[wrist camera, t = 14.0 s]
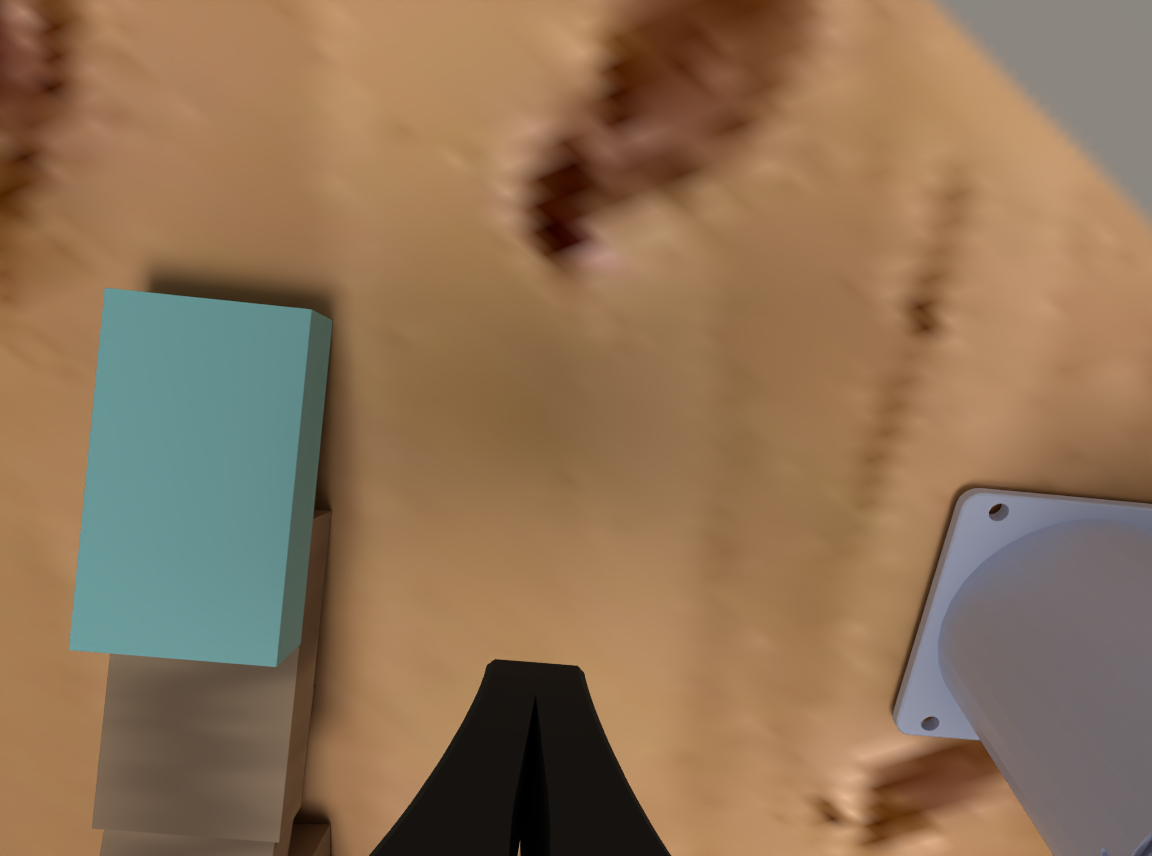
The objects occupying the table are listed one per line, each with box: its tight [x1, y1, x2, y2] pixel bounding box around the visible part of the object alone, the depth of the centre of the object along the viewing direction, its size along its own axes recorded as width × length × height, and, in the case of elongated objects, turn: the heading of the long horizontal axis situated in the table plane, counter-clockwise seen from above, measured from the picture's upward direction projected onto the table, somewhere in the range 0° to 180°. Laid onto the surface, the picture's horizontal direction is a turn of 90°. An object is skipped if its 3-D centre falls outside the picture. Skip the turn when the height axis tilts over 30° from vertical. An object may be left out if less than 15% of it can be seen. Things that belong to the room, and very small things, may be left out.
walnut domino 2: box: [100, 686, 315, 856], centre depth 24 cm, size 4×2×8 cm
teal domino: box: [69, 288, 333, 667], centre depth 20 cm, size 4×2×8 cm
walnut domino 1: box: [92, 509, 332, 843], centre depth 22 cm, size 4×2×8 cm
